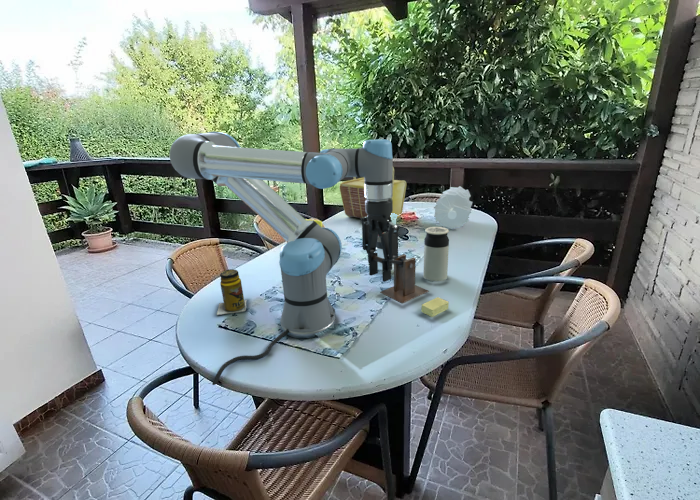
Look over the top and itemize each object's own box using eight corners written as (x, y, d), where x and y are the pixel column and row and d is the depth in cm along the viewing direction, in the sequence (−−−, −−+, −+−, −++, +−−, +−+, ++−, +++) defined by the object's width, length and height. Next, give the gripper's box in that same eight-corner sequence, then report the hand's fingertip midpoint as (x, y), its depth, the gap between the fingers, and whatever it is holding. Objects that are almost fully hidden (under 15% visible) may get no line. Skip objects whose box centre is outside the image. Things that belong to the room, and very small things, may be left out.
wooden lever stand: (402, 307, 109) (402, 267, 105) (379, 295, 117) (379, 258, 112) (429, 294, 116) (430, 257, 111) (406, 284, 123) (406, 249, 119)
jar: (383, 276, 131) (383, 244, 126) (370, 269, 137) (369, 239, 133) (403, 270, 135) (403, 239, 131) (389, 263, 142) (388, 234, 137)
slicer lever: (382, 266, 103) (384, 257, 103) (371, 261, 107) (373, 253, 107) (412, 269, 112) (414, 262, 111) (400, 265, 115) (402, 257, 115)
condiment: (245, 311, 111) (239, 275, 107) (216, 315, 109) (209, 279, 105) (246, 300, 118) (241, 266, 114) (219, 304, 116) (212, 269, 112)
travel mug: (445, 286, 121) (448, 234, 115) (421, 283, 124) (422, 232, 118) (448, 276, 128) (450, 227, 122) (425, 274, 131) (426, 225, 125)
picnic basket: (408, 216, 206) (408, 161, 196) (379, 226, 189) (378, 167, 179) (368, 209, 225) (367, 159, 215) (339, 218, 208) (336, 164, 198)
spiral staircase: (441, 238, 180) (446, 221, 202) (476, 225, 172) (477, 209, 194) (426, 205, 176) (432, 192, 198) (461, 190, 168) (464, 178, 190)
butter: (432, 321, 101) (432, 310, 100) (421, 315, 104) (421, 304, 103) (448, 312, 105) (448, 301, 104) (437, 307, 108) (437, 296, 107)
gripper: (413, 201, 95) (411, 282, 103) (367, 192, 108) (369, 265, 116) (392, 206, 90) (392, 291, 98) (347, 196, 104) (351, 271, 112)
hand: (380, 276), depth 107 cm, fingers closed on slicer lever, 5 cm apart
